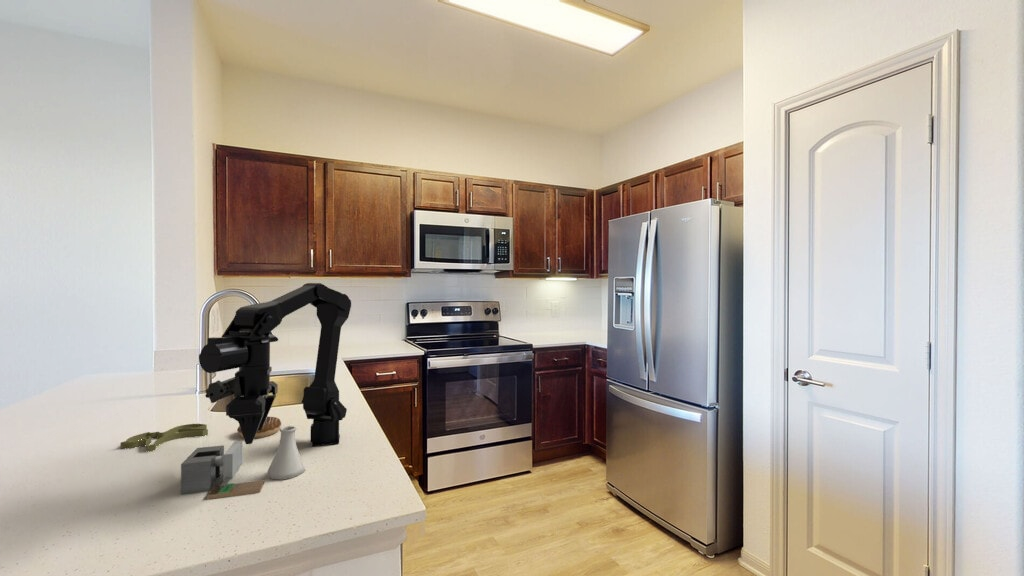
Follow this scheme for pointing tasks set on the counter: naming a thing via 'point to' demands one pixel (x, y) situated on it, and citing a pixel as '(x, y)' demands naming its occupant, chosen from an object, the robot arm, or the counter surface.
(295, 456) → the flask
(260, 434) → the donut
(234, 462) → the gauge plunger
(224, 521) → the counter surface
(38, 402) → the counter surface
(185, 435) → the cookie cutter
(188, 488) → the gauge housing
